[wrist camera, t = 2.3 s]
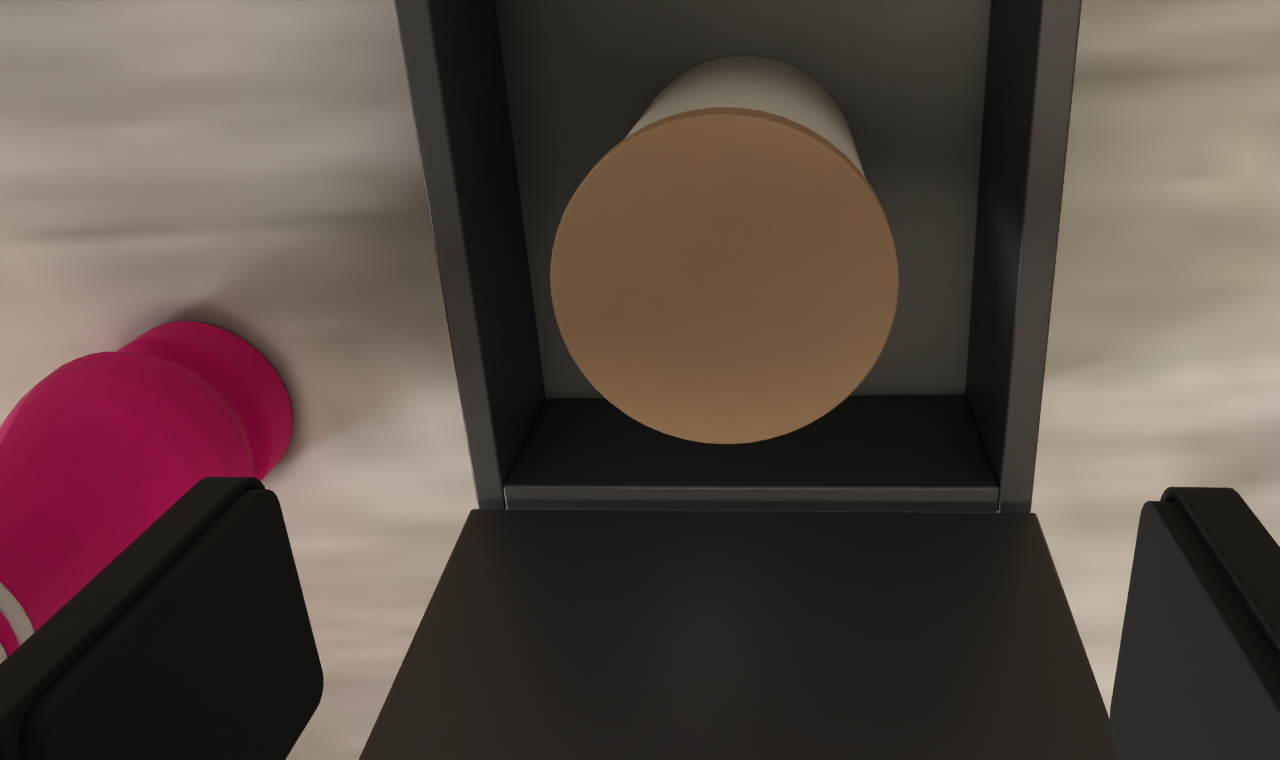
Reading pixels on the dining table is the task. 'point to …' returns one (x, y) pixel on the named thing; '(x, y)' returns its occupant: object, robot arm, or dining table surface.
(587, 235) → the canister
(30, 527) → the pepper mill
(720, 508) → the dark grey open box
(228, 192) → the dining table surface
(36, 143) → the dining table surface
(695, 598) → the lid
